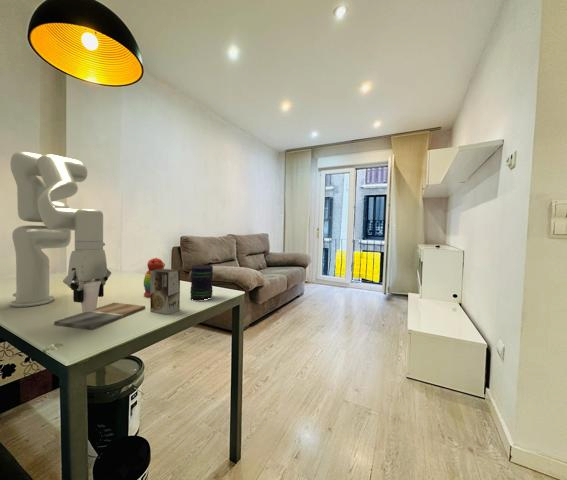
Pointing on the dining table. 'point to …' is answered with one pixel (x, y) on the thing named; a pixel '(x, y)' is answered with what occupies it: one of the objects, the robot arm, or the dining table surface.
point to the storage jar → (201, 282)
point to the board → (99, 316)
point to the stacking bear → (152, 265)
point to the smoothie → (90, 295)
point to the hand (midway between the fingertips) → (89, 298)
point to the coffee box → (164, 291)
